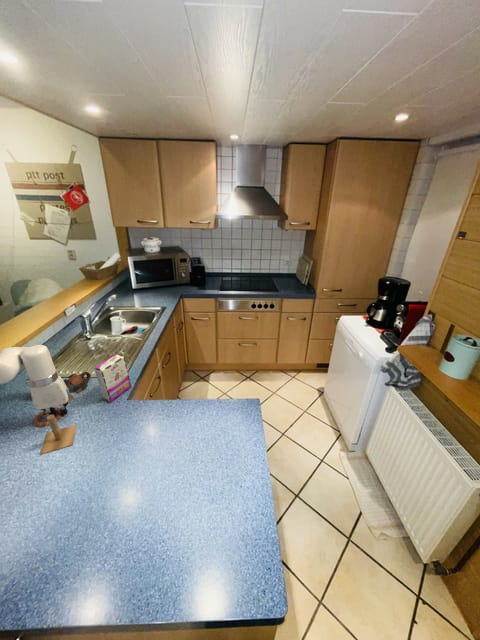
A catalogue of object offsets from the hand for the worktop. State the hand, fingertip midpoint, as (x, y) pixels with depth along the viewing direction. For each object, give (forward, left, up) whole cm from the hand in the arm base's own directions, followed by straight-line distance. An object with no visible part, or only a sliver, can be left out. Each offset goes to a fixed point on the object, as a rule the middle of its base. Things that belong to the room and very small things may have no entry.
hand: (59, 416), depth 97 cm
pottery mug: (+4, +16, 0) cm, 17 cm away
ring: (-3, 0, +1) cm, 4 cm away
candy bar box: (+20, +6, 0) cm, 21 cm away
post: (+2, -13, 0) cm, 13 cm away
